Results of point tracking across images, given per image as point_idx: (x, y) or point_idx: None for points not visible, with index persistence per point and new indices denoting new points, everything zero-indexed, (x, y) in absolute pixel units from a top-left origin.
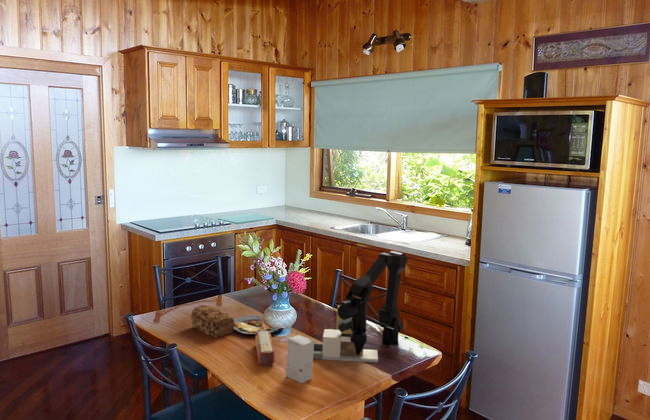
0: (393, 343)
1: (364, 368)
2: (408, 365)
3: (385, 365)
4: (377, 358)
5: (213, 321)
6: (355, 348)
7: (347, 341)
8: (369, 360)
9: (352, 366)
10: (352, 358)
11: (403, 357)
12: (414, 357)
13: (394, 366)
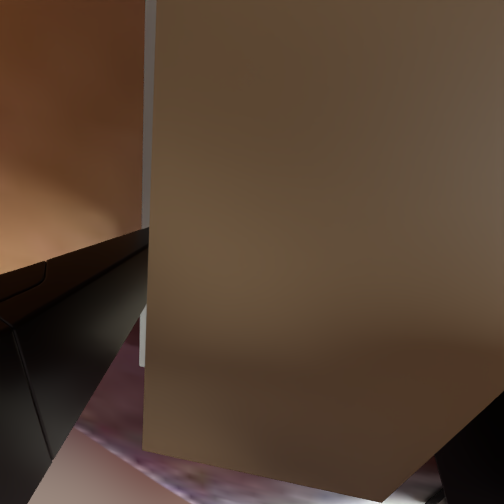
0: (443, 501)
1: (7, 229)
2: (132, 457)
3: (109, 374)
4: None
5: None
6: (56, 258)
7: (179, 128)
8: (143, 309)
9: (11, 113)
10: (149, 153)
11: None
12: (235, 499)
13: (105, 408)
